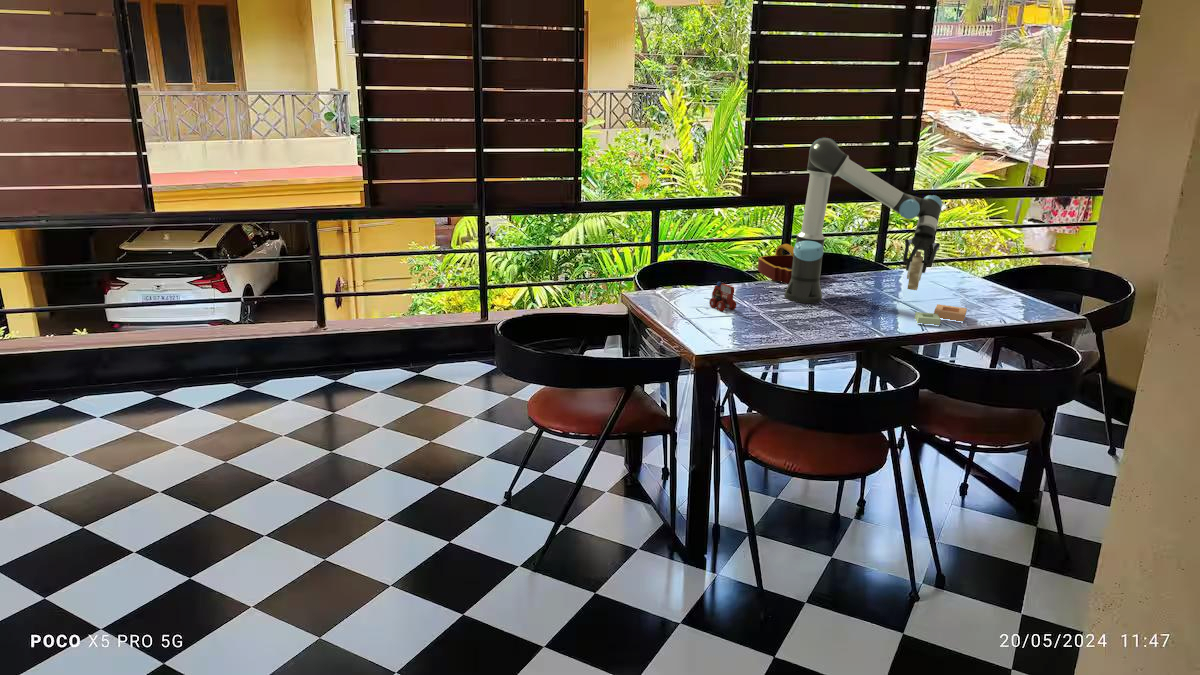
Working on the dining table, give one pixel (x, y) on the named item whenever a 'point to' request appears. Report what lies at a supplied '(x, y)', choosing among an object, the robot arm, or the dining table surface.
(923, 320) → the green square ring
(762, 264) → the decorative basket
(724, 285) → the toy fire truck
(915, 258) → the peg block
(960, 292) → the dining table surface
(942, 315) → the orange square frame
